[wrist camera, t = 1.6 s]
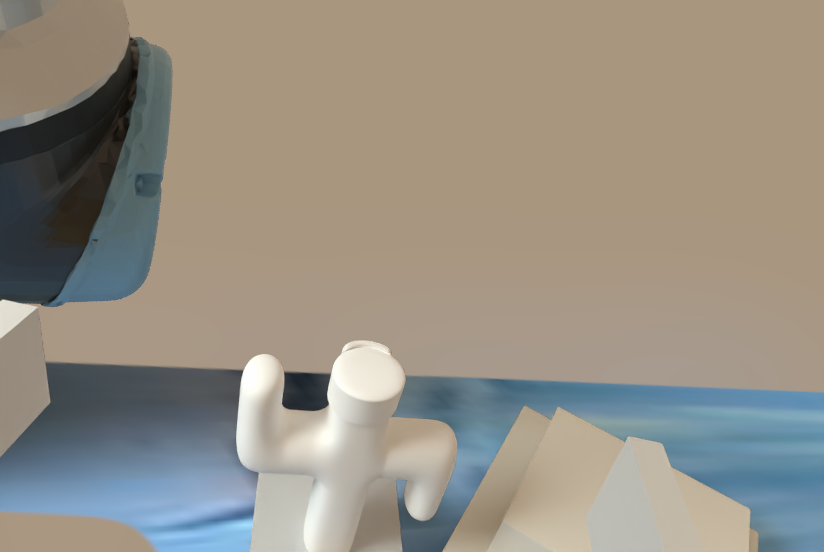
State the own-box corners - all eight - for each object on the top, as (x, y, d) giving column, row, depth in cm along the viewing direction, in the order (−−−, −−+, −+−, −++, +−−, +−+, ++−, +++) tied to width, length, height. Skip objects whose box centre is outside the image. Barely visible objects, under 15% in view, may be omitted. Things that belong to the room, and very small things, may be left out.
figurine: (414, 647, 29) (509, 448, 21) (212, 649, 27) (229, 431, 19) (400, 513, 35) (470, 316, 27) (233, 507, 33) (253, 292, 25)
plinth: (427, 581, 32) (451, 528, 29) (515, 424, 43) (538, 374, 40) (729, 784, 27) (791, 743, 25) (741, 550, 38) (785, 503, 36)
